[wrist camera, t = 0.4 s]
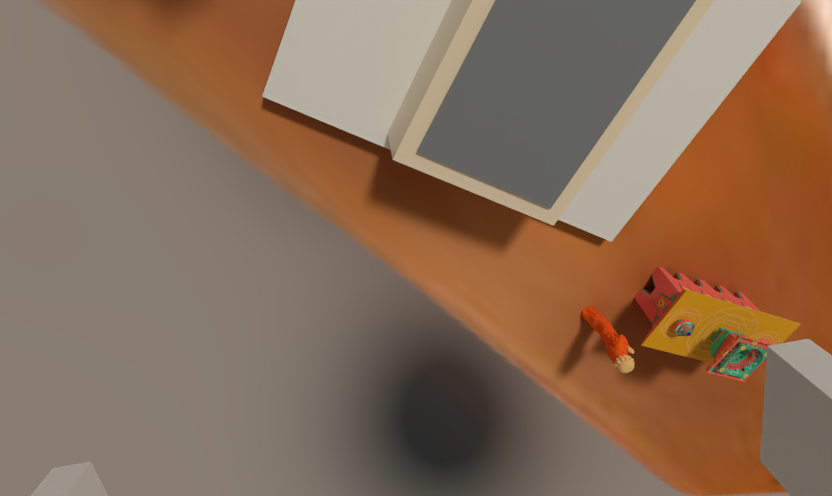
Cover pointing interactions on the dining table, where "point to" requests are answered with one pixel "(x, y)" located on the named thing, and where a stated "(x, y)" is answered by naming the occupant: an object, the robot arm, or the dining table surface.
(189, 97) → the dining table surface
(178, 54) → the dining table surface
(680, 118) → the white flat piece
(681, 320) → the toy building block set
